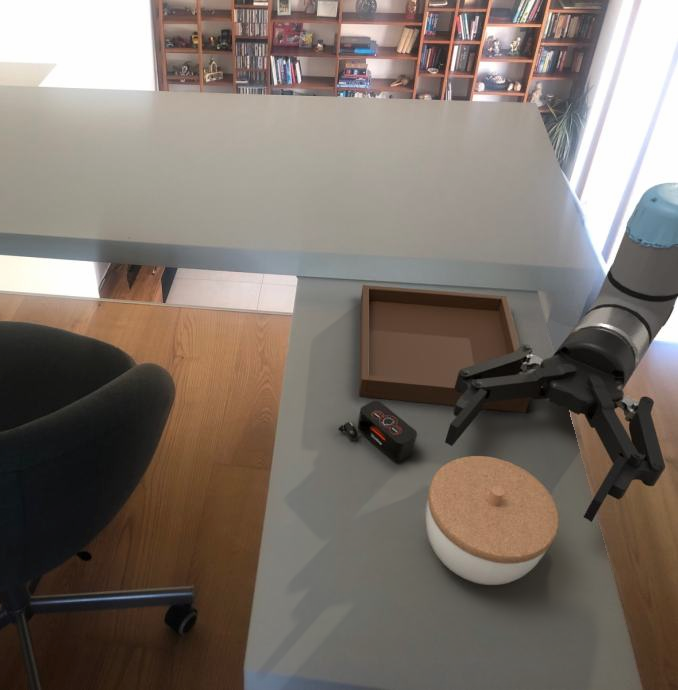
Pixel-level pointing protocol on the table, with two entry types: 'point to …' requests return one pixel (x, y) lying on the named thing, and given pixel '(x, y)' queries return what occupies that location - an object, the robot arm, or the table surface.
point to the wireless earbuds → (383, 430)
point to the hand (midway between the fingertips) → (517, 471)
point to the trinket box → (489, 519)
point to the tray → (430, 343)
